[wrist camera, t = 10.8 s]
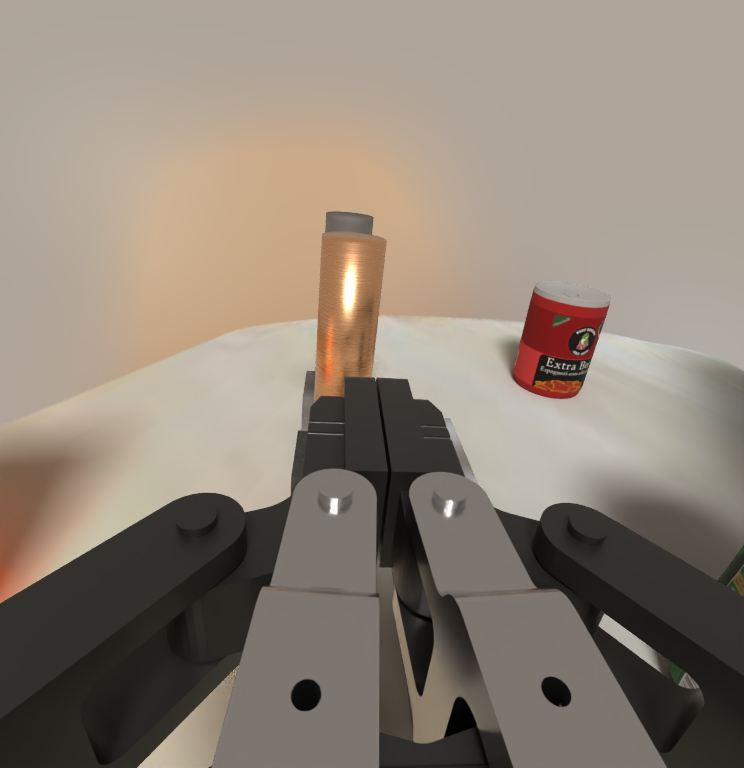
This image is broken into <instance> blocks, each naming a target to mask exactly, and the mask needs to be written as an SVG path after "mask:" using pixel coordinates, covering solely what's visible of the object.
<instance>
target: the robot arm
mask: <svg viewBox="0 0 744 768" xmlns="http://www.w3.org/2000/svg"><path fill="white" fill-rule="evenodd" d="M377 556H379V567H391V568H394V577H395V586H394V592H393V599H392V605H393V611H394V617H395V622H396V627H397V632H398V637H399V643H400V648H401V653H402V658H403V663H404V669H405V674H406V679H407V684H408V689H409V694H410V700H411V705H412V713H413V742H412V741H408V740H404V739H401V738H397V737H394V736H390V735H386V734H383V733H379V595H378V594H377V593H376V564H377ZM604 613H605V614H606V615H608V616H609V617H610V618H612V619H613V620H615V621H616V622H617V623H619V624H620V625H621V626H623V627H624V628H626V629H627V630H628V631H630V632H631V633H632V634H634V635H635V636H637V637H638V638H639V639H641V640H642V641H643V642H645V643H646V644H648V645H649V646H650V647H652V648H653V649H654V650H656V651H657V652H659V653H660V654H661V655H663V656H664V657H665V658H667V659H668V660H670V661H671V662H672V663H674V664H675V665H676V666H678V667H679V668H681V669H682V670H683V671H684V672H686V673H687V674H688V675H689V676H690V677H691V678H692V679H693V680H694V681H695V682H696V684H697V685H698V686H699V688H696V689H689V688H685V687H682V686H679V685H677V684H675V683H674V682H672V681H671V680H669V679H668V678H667V677H665V676H664V675H663V674H661V673H660V672H659V671H657V670H656V669H655V668H653V667H652V666H651V665H649V664H648V663H647V662H645V661H644V660H643V659H641V658H640V657H639V656H637V655H636V654H635V653H633V652H632V651H631V650H629V649H628V648H627V647H625V646H624V645H623V644H621V643H620V642H619V641H617V640H616V639H615V638H613V637H612V636H611V635H609V634H608V633H607V632H605V631H604V630H603V629H601V628H600V627H599V626H598V625H599V623H600V621H601V619H602V617H603V615H604ZM239 663H240V665H239ZM238 665H239V668H238V672H237V676H236V679H235V683H234V687H233V690H232V694H231V698H230V701H229V705H228V709H227V712H226V716H225V720H224V723H223V727H222V731H221V735H220V738H219V742H218V746H217V749H216V753H215V757H214V760H213V764H212V766H210V767H209V768H744V596H742V595H740V594H739V593H737V592H735V591H733V590H732V589H730V588H728V587H727V586H725V585H723V584H722V583H720V582H718V581H716V580H715V579H713V578H711V577H710V576H708V575H706V574H705V573H703V572H701V571H699V570H698V569H696V568H694V567H693V566H691V565H689V564H688V563H686V562H684V561H682V560H681V559H679V558H677V557H676V556H674V555H672V554H671V553H669V552H667V551H665V550H664V549H662V548H660V547H659V546H657V545H655V544H654V543H652V542H650V541H648V540H647V539H645V538H643V537H642V536H640V535H638V534H637V533H635V532H633V531H631V530H630V529H628V528H626V527H625V526H623V525H621V524H620V523H618V522H616V521H614V520H613V519H611V518H609V517H608V516H606V515H604V514H602V513H600V512H599V511H597V510H594V509H592V508H589V507H586V506H583V505H579V504H573V503H559V504H554V505H552V506H550V507H548V508H546V509H545V511H544V512H543V514H542V516H541V519H540V521H537V520H533V519H529V518H525V517H521V516H517V515H514V514H510V513H507V512H503V511H501V510H498V509H496V508H494V507H493V505H492V503H491V502H490V500H489V498H488V496H487V494H486V493H485V491H484V490H483V489H482V488H481V487H480V486H479V485H477V484H476V483H475V482H473V481H471V480H470V479H468V478H466V477H465V475H464V472H463V469H462V467H461V464H460V461H459V459H458V456H457V453H456V450H455V448H454V445H453V442H452V440H450V434H449V431H448V429H447V428H446V423H445V420H444V418H443V415H442V412H441V411H440V410H439V409H437V408H436V407H435V406H434V405H433V404H432V403H431V402H430V401H429V400H413V397H412V393H411V390H410V386H409V382H408V380H407V379H393V378H377V379H376V382H375V378H370V377H349V376H344V384H343V397H339V396H320V397H319V398H318V399H317V400H316V402H315V403H314V404H313V405H312V406H311V407H310V416H309V424H308V434H307V441H306V450H305V459H304V467H303V476H302V480H301V481H300V482H299V483H298V484H297V486H296V487H295V490H294V493H293V494H292V495H291V496H290V497H289V498H287V499H286V500H284V501H282V502H281V503H279V504H276V505H274V506H271V507H267V508H263V509H259V510H254V511H250V512H245V513H244V510H243V508H242V507H241V505H240V504H239V503H238V502H236V501H235V500H234V499H232V498H230V497H228V496H225V495H222V494H216V493H198V494H192V495H188V496H185V497H182V498H179V499H177V500H175V501H173V502H171V503H169V504H167V505H166V506H164V507H162V508H160V509H159V510H157V511H155V512H154V513H152V514H150V515H149V516H147V517H145V518H144V519H142V520H140V521H139V522H137V523H135V524H133V525H132V526H130V527H128V528H127V529H125V530H123V531H122V532H120V533H118V534H117V535H115V536H113V537H112V538H110V539H108V540H106V541H105V542H103V543H101V544H100V545H98V546H96V547H95V548H93V549H91V550H90V551H88V552H86V553H85V554H83V555H81V556H79V557H78V558H76V559H74V560H73V561H71V562H69V563H68V564H66V565H64V566H63V567H61V568H59V569H58V570H56V571H54V572H52V573H51V574H49V575H47V576H46V577H44V578H42V579H41V580H39V581H37V582H36V583H34V584H32V585H31V586H29V587H27V588H26V589H24V590H22V591H20V592H19V593H17V594H15V595H14V596H12V597H10V598H9V599H7V600H5V601H4V602H2V603H0V768H137V767H138V766H139V765H140V764H141V763H142V762H143V761H144V760H145V759H146V758H147V757H148V756H149V755H150V754H151V753H152V752H153V751H154V750H155V749H156V748H157V747H158V746H159V745H160V744H161V743H162V742H163V741H164V740H165V739H166V738H167V737H168V736H169V735H170V734H171V733H172V732H173V731H174V729H175V728H176V727H177V726H178V725H179V724H180V723H181V722H182V721H183V720H184V719H185V718H186V717H187V716H188V715H189V714H190V713H191V712H192V711H193V710H194V709H195V708H196V707H197V706H198V705H199V704H200V703H201V702H202V701H203V700H204V699H205V698H206V697H207V696H208V695H209V694H210V693H211V692H212V691H213V690H214V689H215V688H216V687H217V686H218V685H219V684H220V683H221V682H222V681H223V680H224V679H225V678H226V677H227V676H228V675H229V674H230V673H231V672H232V671H233V670H234V669H235V668H236V667H237V666H238Z"/></svg>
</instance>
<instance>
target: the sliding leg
mask: <svg viewBox="0 0 744 768" xmlns="http://www.w3.org/2000/svg"><path fill="white" fill-rule="evenodd" d="M386 242H387V241H386V240H385V239H384V238H381V237H378V236H374V235H369V234H362V233H354V232H326V233H323V234H322V248H321V268H320V288H319V310H318V329H317V350H316V370H315V391H314V403H315V402H316V400H317V399H318V398H319V397H320V396H339V397H343V384H344V376H349V377H370V378H372V371H373V361H374V352H375V343H376V334H377V324H378V315H379V306H380V296H381V288H382V278H383V269H384V260H385V250H386ZM307 434H308V431H298V435H297V442H296V449H295V456H294V463H293V470H292V477H291V495H292V494H293V493H294V490H295V487H296V486H297V484H298V483H299V482H300V481H301V480H302V476H303V467H304V459H305V450H306V441H307Z"/></svg>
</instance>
